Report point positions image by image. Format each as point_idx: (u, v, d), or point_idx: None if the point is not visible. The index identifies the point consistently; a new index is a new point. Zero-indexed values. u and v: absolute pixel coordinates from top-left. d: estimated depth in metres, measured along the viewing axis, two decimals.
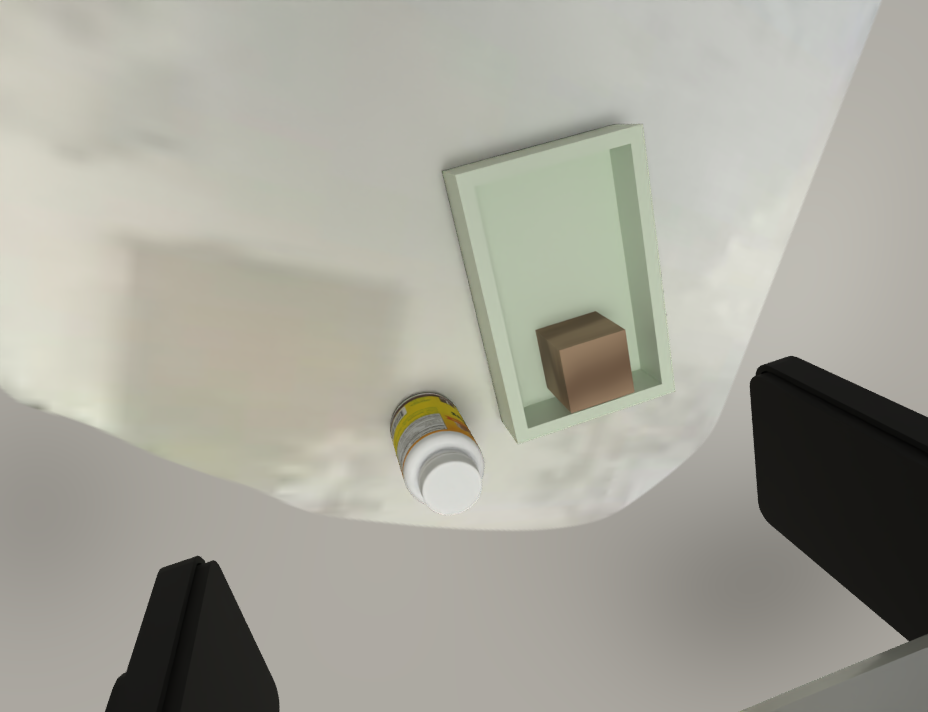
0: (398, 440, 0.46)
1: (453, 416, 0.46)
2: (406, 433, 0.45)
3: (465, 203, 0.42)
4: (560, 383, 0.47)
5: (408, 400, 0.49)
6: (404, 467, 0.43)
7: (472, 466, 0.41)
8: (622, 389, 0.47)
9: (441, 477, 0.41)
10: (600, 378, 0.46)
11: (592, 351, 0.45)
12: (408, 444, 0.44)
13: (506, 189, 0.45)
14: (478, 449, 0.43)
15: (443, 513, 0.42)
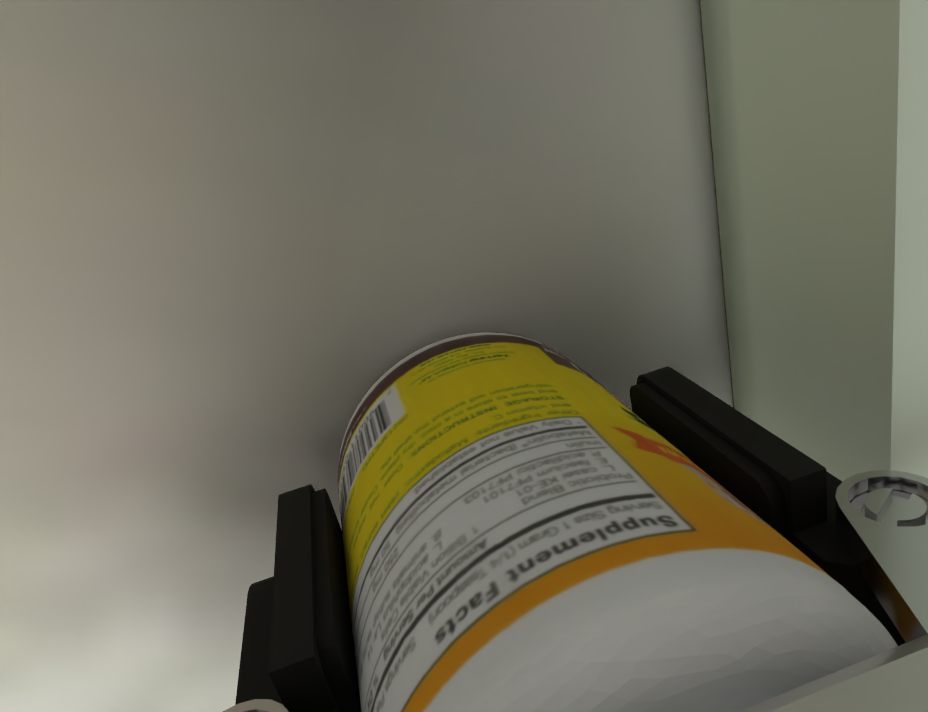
0: (359, 561, 0.09)
1: (649, 432, 0.09)
2: (399, 532, 0.08)
3: None
4: None
5: (411, 360, 0.12)
6: None
7: None
8: None
9: None
10: None
11: None
12: (414, 633, 0.06)
13: None
14: None
15: None
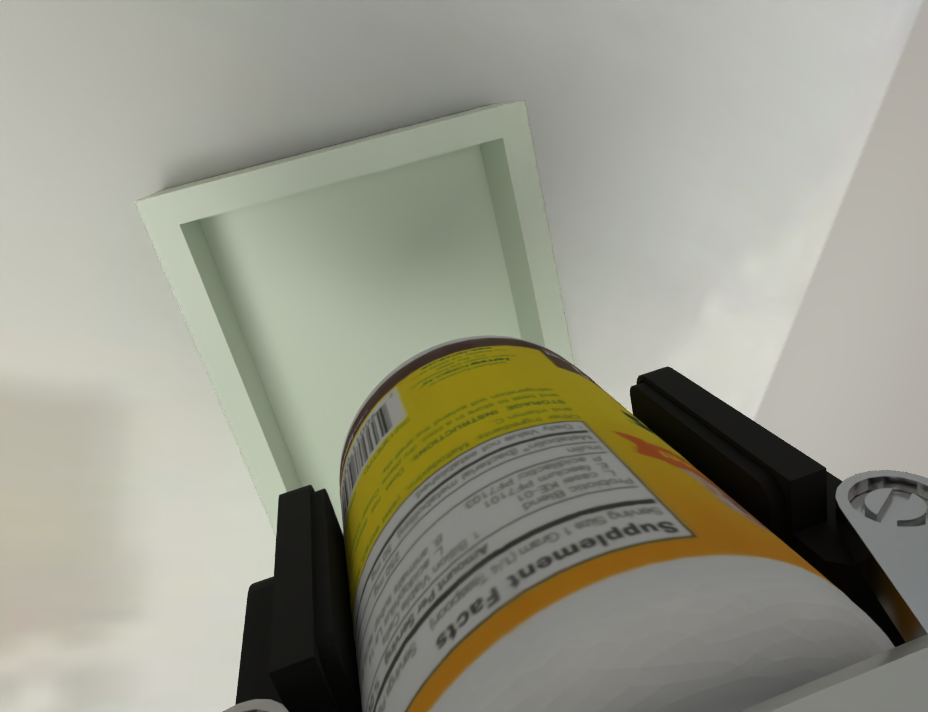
0: (360, 565, 0.09)
1: (650, 436, 0.09)
2: (400, 536, 0.08)
3: (165, 257, 0.21)
4: None
5: (413, 363, 0.12)
6: None
7: None
8: None
9: None
10: None
11: None
12: (414, 638, 0.06)
13: (287, 223, 0.25)
14: None
15: None
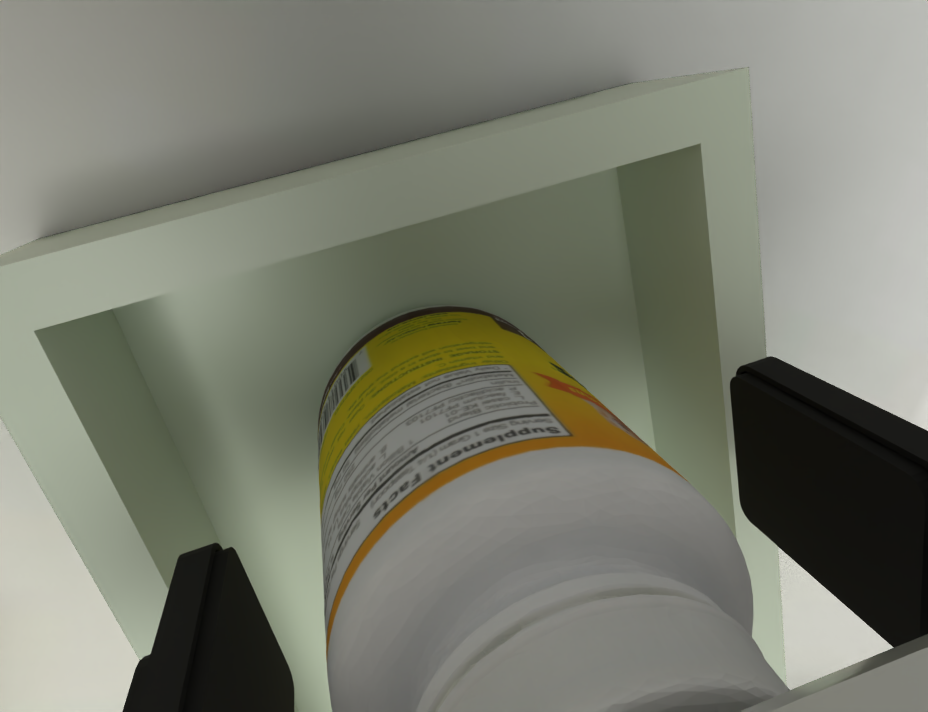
0: (327, 482, 0.10)
1: (567, 379, 0.11)
2: (356, 453, 0.10)
3: (7, 398, 0.10)
4: None
5: (381, 327, 0.13)
6: (332, 653, 0.08)
7: None
8: None
9: None
10: None
11: None
12: (360, 517, 0.08)
13: (272, 297, 0.14)
14: (737, 547, 0.08)
15: None
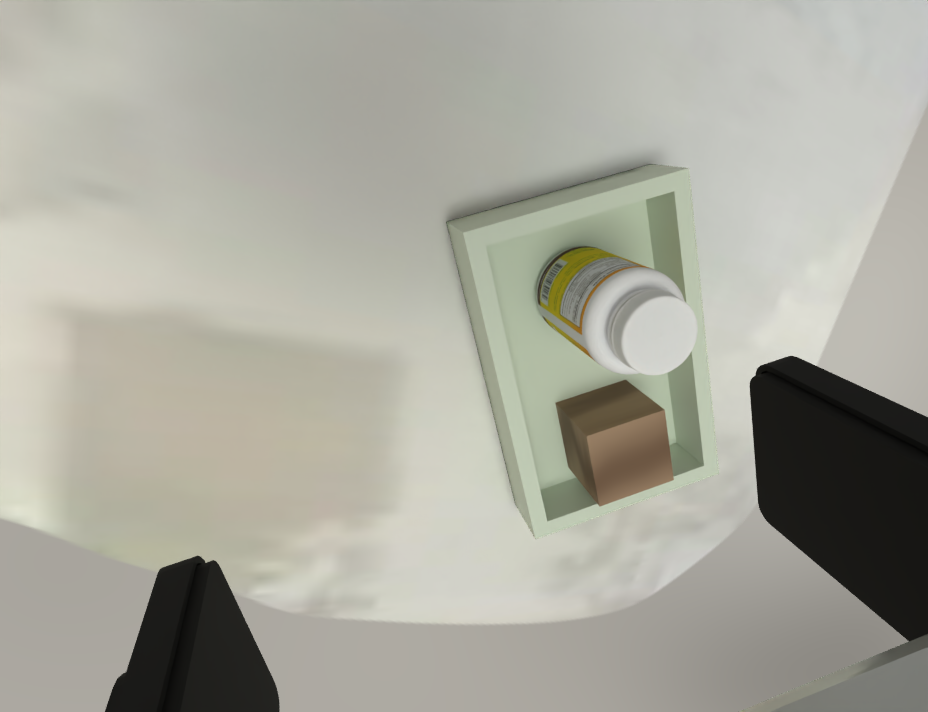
0: (563, 292, 0.35)
1: None
2: (576, 279, 0.34)
3: (475, 265, 0.34)
4: (585, 470, 0.40)
5: (563, 253, 0.38)
6: (586, 315, 0.32)
7: (688, 305, 0.30)
8: (659, 477, 0.40)
9: (648, 318, 0.30)
10: (634, 466, 0.39)
11: (625, 435, 0.38)
12: (587, 288, 0.33)
13: (523, 243, 0.38)
14: (681, 294, 0.33)
15: (645, 371, 0.31)
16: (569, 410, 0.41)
